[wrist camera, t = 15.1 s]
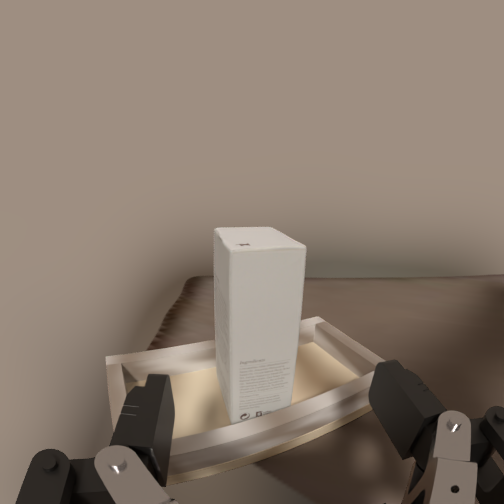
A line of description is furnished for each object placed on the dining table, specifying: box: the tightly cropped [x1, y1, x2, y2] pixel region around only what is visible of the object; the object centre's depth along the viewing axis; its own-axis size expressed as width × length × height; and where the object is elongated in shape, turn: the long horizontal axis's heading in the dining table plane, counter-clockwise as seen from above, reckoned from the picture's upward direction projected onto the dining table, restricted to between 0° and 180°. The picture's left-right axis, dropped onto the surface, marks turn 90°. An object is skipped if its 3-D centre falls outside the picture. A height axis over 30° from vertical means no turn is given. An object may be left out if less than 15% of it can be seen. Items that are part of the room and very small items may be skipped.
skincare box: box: [214, 227, 306, 425], centre depth 20 cm, size 6×4×12 cm
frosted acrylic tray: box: [106, 316, 385, 487], centre depth 21 cm, size 20×11×3 cm, turn 116°
